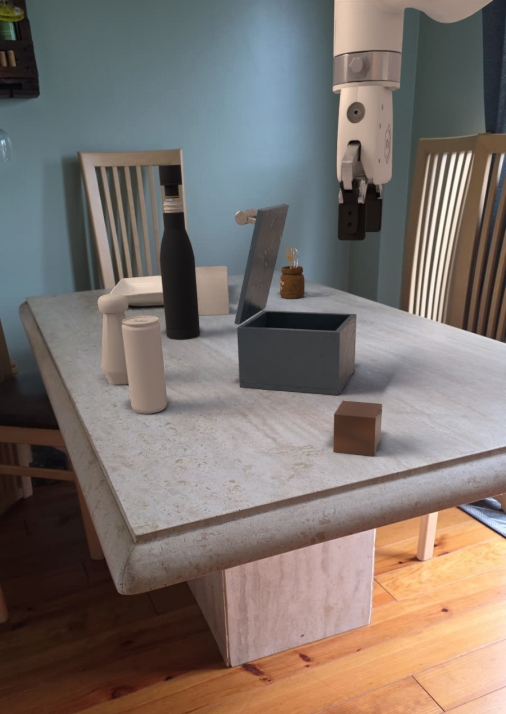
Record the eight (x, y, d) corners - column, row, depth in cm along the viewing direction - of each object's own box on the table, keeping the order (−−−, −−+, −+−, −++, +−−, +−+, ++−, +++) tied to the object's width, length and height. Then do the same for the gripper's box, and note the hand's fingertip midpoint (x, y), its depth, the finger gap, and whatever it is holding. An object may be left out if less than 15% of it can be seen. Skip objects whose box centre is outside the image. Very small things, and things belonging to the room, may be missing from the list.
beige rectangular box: (228, 314, 136) (226, 267, 132) (198, 315, 136) (194, 268, 132) (229, 310, 140) (227, 264, 135) (199, 312, 140) (196, 266, 135)
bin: (354, 371, 96) (356, 313, 92) (338, 395, 86) (339, 332, 82) (264, 364, 100) (263, 310, 97) (239, 387, 90) (236, 327, 87)
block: (380, 440, 71) (382, 403, 69) (373, 456, 68) (375, 417, 66) (341, 436, 73) (342, 400, 71) (333, 451, 69) (333, 414, 67)
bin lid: (289, 204, 89) (258, 196, 90) (263, 210, 79) (229, 200, 80) (265, 308, 96) (237, 299, 97) (239, 325, 87) (208, 314, 87)
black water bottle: (172, 341, 116) (156, 165, 104) (162, 334, 122) (146, 165, 109) (204, 336, 119) (193, 164, 106) (193, 329, 124) (181, 164, 112)
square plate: (226, 305, 145) (226, 288, 143) (108, 311, 143) (106, 294, 142) (223, 286, 169) (223, 271, 168) (123, 290, 168) (121, 276, 166)
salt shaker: (142, 373, 98) (132, 290, 93) (142, 384, 93) (132, 297, 88) (104, 376, 97) (92, 292, 92) (102, 388, 92) (90, 299, 87)
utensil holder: (306, 294, 154) (306, 244, 149) (302, 299, 149) (302, 247, 144) (282, 294, 155) (282, 244, 150) (278, 299, 150) (277, 247, 145)
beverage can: (167, 413, 82) (158, 323, 77) (130, 416, 81) (118, 325, 76) (168, 401, 86) (160, 314, 81) (133, 403, 86) (123, 316, 81)
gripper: (386, 63, 61) (377, 244, 69) (411, 81, 76) (401, 229, 83) (313, 69, 64) (311, 243, 71) (351, 86, 79) (346, 229, 86)
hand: (360, 235), depth 77 cm, fingers open, 9 cm apart
